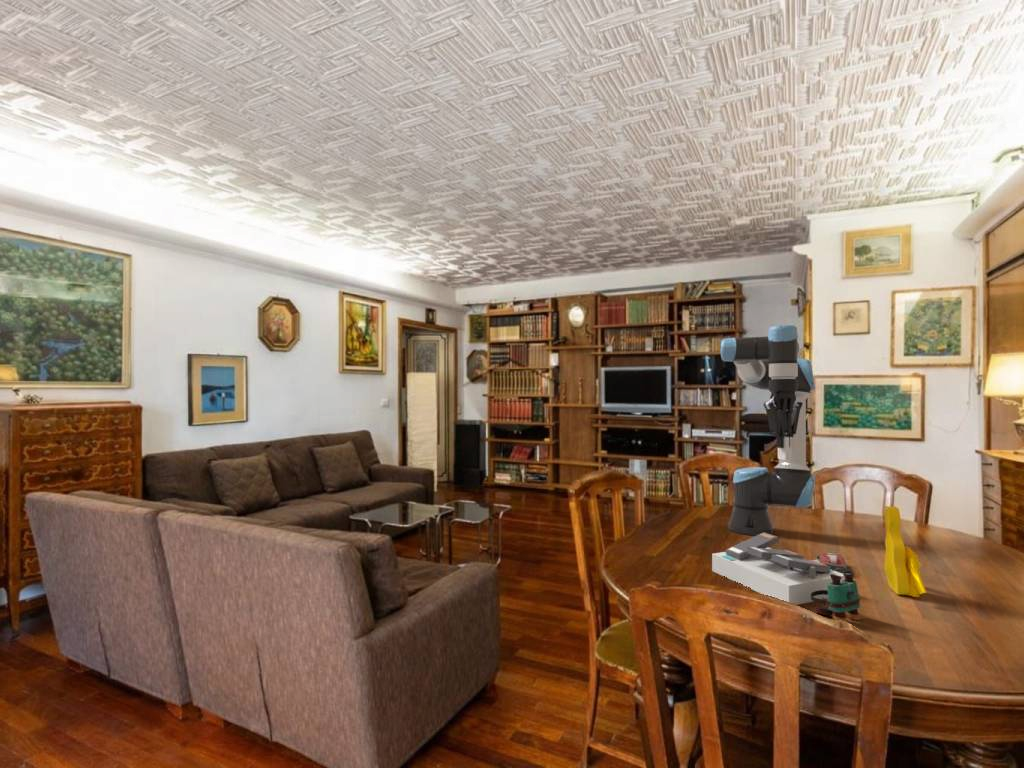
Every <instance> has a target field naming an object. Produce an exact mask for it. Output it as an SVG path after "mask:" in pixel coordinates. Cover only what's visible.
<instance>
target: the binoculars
mask: <svg viewBox="0 0 1024 768" xmlns="http://www.w3.org/2000/svg"><path fill="white" fill-rule="evenodd" d="M843 575H844V576H845V580H843V581H841V583H840V580H841V576H837V575H833V574H830V576H831V579H832V583H829V584H828V590H819V591H815V592H812V593H811V600H812V601H814V603H817V604H821V605H822V606H815V613H817V614H821V615H824V616H825V615H827V616H830V617H832V619H833V620H834V619H836V620H842V621H847V622H848V618H849V619H851V620H855V621H860V620H861V614H860V613H859V610H858V609H859V608H861V606H860V604H861V599H860V596H859V591H858V584H857V581H856V580H854V576H855V575H854V571H853V570H850V569H849V570H848V569H847V571H844V572H843ZM816 595H828V599H826V598H824V597H822V599H818V598H814V596H816ZM823 598H824V599H823ZM825 600H826V601H825ZM825 604H826V605H825Z"/></svg>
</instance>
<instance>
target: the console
mask: <svg viewBox="0 0 1024 768" xmlns="http://www.w3.org/2000/svg"><path fill="white" fill-rule="evenodd" d="M744 541H745V540H743V541H740V543H741V542H744ZM766 549H772V548H771V547H767V548H766ZM711 558H712V559H711V571H712V572H714V573H716V574H718V575H720V576H722V577H724V576H725V577H724V578H726V577H727V579H729V580H731V581H733V582H735V581H736V583H737V582H738V584H739V583H741V584H743V585H742V586H744V587H746V586H747V587H746V588H748V587H750V588H751V590H752V591H755V592H757V593H758V594H761V595H763V594H764V596H765V595H768V596H772V597H775V598H778V599H780V600H784V601H787V602H790V603H793V604H796V605H795V606H799V605H803V604H808V603H813V602H814V601H812V600H811V593H812V592H815V591H819V590H828V584H829V583H832V579H831V576H830V574H833V575H837V576H841V580H840V583H841V581H843V580H845V576H844V575H843V574H842V573H839V572H836V571H834V570H831V569H830V573H826V572H820V571H816V567H814V566H810V567H809V570H806V569H800V568H793V567H787V566H785V565H782V564H779V563H777V562H774V561H772V560H771V559H762V558H759V557H756V556H754V555H750V556H748V557H746V558H744V559H742V560H737V559H735V558H732V557H730V556H727V555H726V551H721V552H715V553H714V552H713V553H712V554H711ZM741 584H740V585H741ZM750 588H749V589H750ZM822 597H824V598H826V599H827V600H828V595H816V596H814V598H818V599H822ZM824 598H823V599H824ZM826 599H824V600H826ZM814 603H815V602H814Z"/></svg>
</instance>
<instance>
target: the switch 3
mask: <svg viewBox="0 0 1024 768" xmlns="http://www.w3.org/2000/svg"><path fill="white" fill-rule="evenodd" d="M771 560H772V561H774V562H777V563H779V564H782V565H785V566H787V567H793V568H800V569H806V570H809V567H810V566H814V567H816V571H820V572H826V573H830V568H831V567H830V566H827V565H825V564H822V563H819V562H816V561H813V560H814V559H813V560H812V559H805V558H803V559H799V558H793V557H787V556H781V555H774V554H772V558H771Z"/></svg>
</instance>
